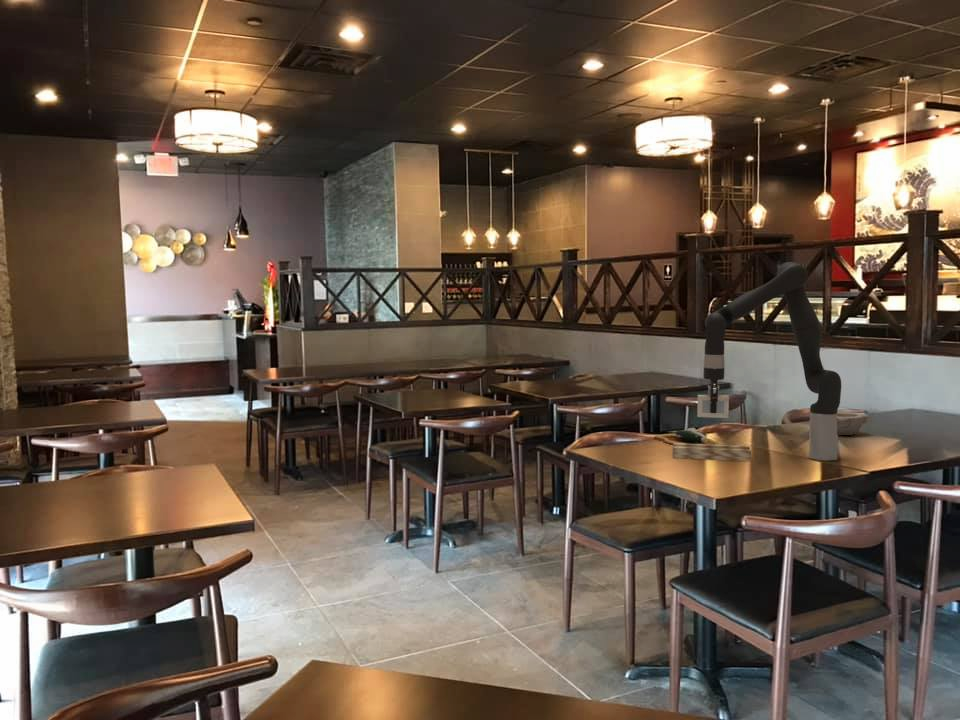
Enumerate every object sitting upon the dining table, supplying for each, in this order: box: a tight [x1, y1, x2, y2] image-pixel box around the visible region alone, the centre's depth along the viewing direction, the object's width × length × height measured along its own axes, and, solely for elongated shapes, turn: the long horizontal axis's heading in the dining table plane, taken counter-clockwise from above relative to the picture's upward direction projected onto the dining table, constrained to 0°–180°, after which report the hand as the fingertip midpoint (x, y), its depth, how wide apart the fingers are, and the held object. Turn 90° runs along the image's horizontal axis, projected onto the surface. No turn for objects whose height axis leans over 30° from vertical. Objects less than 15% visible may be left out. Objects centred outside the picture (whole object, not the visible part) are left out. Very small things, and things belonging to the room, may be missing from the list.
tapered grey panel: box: [696, 394, 730, 419], centre depth 281 cm, size 11×3×8 cm, turn 76°
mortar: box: [837, 411, 870, 436], centre depth 329 cm, size 17×17×9 cm
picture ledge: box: [672, 443, 752, 462], centre depth 283 cm, size 28×10×4 cm, turn 75°
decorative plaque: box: [653, 427, 726, 446], centre depth 311 cm, size 30×7×20 cm
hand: (712, 412), depth 281 cm, fingers closed on tapered grey panel, 2 cm apart
